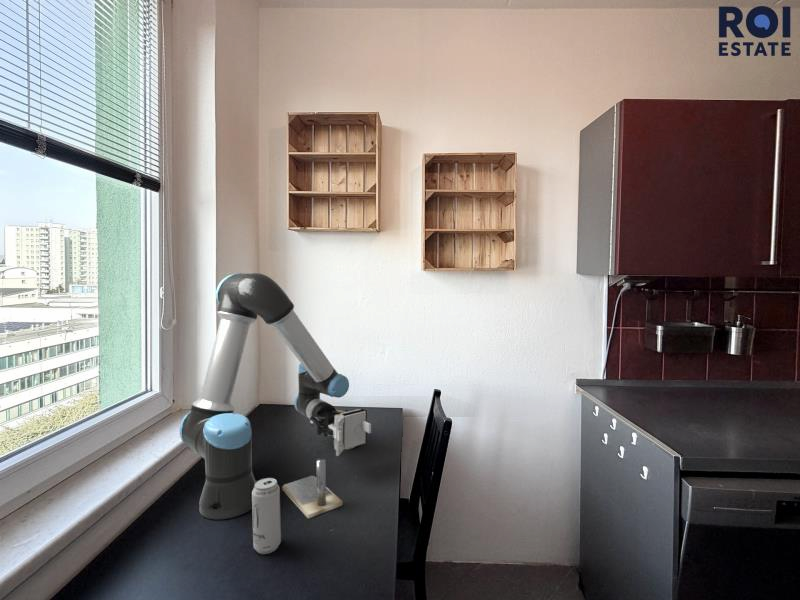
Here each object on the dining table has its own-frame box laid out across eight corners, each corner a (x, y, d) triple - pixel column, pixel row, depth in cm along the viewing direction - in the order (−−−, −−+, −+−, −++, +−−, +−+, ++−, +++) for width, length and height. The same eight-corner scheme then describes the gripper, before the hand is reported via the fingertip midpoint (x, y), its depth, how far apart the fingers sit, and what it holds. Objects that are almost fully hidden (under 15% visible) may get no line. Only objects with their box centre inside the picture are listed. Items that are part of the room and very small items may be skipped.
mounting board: (308, 518, 104) (308, 514, 104) (282, 489, 118) (282, 486, 118) (342, 505, 110) (342, 501, 110) (314, 479, 124) (314, 476, 124)
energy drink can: (248, 546, 93) (246, 483, 92) (273, 535, 97) (271, 474, 96) (260, 559, 89) (259, 493, 88) (285, 546, 93) (284, 483, 92)
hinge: (337, 456, 117) (338, 422, 116) (324, 452, 120) (324, 418, 120) (368, 441, 128) (368, 410, 128) (355, 437, 131) (356, 407, 131)
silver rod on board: (307, 511, 105) (306, 466, 104) (283, 485, 118) (282, 445, 118) (338, 500, 110) (338, 457, 110) (312, 476, 124) (311, 437, 123)
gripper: (349, 417, 144) (386, 436, 126) (290, 430, 131) (320, 453, 113) (350, 396, 144) (386, 412, 126) (289, 407, 131) (320, 427, 113)
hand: (355, 432), depth 120 cm, fingers closed on hinge, 9 cm apart
